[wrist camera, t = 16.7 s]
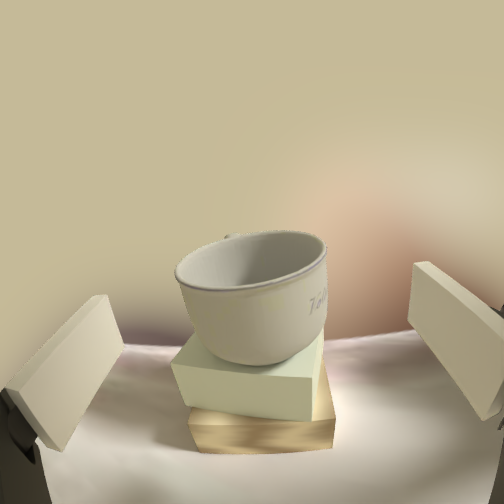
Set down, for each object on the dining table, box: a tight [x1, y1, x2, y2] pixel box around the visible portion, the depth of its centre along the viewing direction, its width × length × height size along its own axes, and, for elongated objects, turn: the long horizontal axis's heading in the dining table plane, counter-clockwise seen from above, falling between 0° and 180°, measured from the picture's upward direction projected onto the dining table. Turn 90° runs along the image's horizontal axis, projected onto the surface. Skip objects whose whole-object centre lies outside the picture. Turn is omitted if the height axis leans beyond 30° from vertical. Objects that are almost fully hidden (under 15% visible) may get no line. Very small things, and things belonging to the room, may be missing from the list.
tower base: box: [187, 355, 336, 454], centre depth 27 cm, size 12×12×5 cm
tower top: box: [170, 328, 324, 422], centre depth 26 cm, size 11×11×5 cm
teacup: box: [175, 230, 328, 366], centre depth 24 cm, size 14×11×8 cm
